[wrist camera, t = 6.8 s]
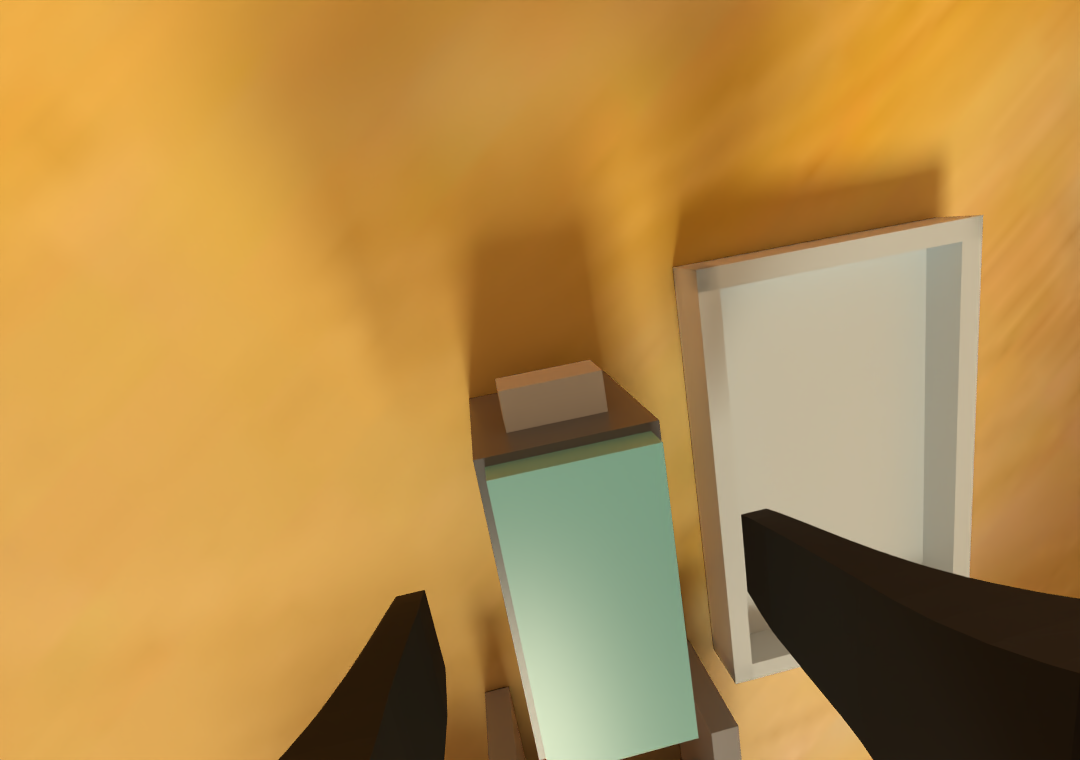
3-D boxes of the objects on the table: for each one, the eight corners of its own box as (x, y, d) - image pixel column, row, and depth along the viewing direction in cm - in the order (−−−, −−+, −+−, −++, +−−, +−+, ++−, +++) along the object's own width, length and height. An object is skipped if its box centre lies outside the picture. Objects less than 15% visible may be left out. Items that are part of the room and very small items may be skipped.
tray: (934, 217, 16) (983, 215, 15) (928, 592, 20) (967, 622, 18) (672, 267, 16) (695, 269, 14) (713, 648, 19) (735, 683, 18)
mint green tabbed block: (597, 337, 16) (665, 383, 11) (636, 599, 18) (707, 742, 13) (461, 364, 16) (463, 426, 10) (518, 628, 18) (543, 787, 13)
